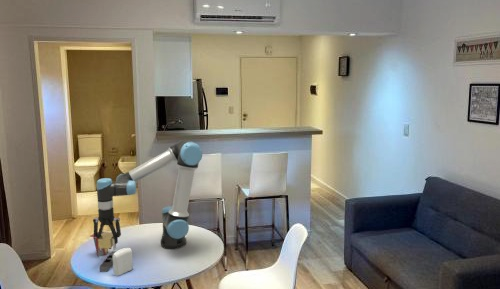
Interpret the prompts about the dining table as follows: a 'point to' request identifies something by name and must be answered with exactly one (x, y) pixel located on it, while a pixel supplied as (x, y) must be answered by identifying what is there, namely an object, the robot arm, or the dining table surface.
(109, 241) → the mottled tan brick
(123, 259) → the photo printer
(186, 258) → the dining table surface
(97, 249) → the cup
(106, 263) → the rail
